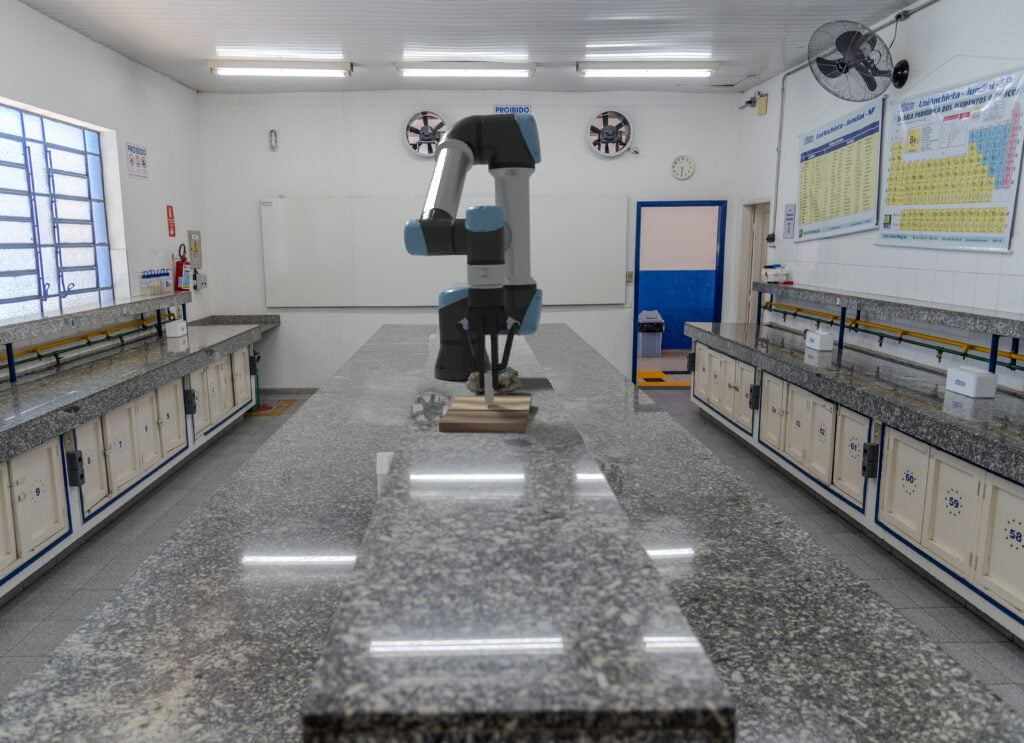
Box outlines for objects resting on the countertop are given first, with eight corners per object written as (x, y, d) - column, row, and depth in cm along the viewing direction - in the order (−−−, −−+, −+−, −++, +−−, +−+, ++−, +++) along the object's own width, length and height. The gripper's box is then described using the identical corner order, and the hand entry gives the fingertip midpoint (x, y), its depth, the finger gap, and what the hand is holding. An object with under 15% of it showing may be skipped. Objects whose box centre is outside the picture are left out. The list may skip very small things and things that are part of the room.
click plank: (457, 402, 150) (456, 395, 150) (531, 402, 149) (531, 395, 148) (448, 416, 141) (448, 408, 140) (528, 416, 139) (528, 409, 139)
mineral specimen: (524, 386, 164) (511, 355, 164) (525, 391, 155) (511, 358, 154) (475, 406, 165) (462, 374, 164) (474, 411, 156) (460, 378, 155)
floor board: (448, 417, 140) (448, 409, 140) (528, 417, 139) (528, 409, 138) (439, 431, 130) (438, 422, 130) (524, 431, 129) (524, 422, 129)
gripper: (450, 288, 134) (454, 408, 139) (518, 287, 133) (520, 408, 138) (456, 285, 142) (460, 399, 146) (521, 284, 141) (523, 399, 145)
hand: (489, 403), depth 142 cm, fingers closed
